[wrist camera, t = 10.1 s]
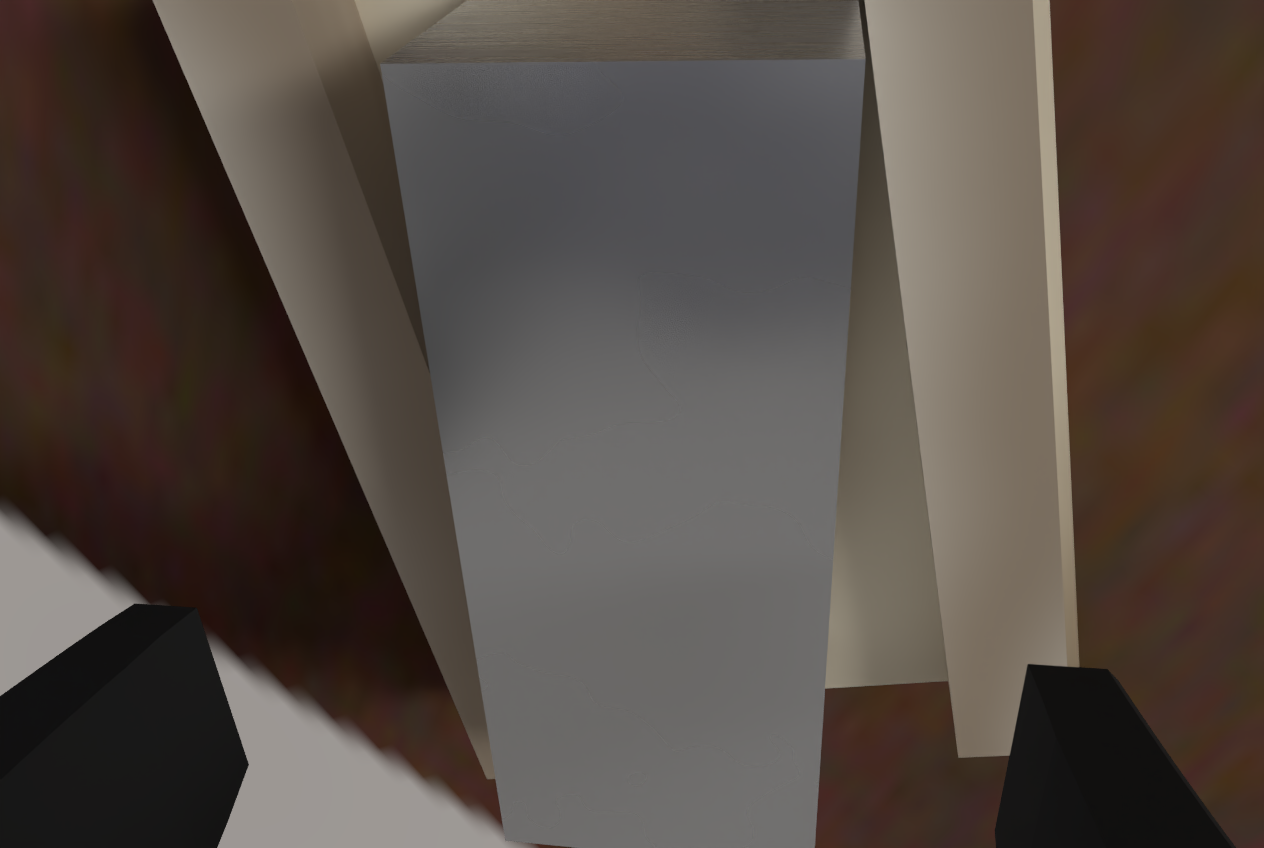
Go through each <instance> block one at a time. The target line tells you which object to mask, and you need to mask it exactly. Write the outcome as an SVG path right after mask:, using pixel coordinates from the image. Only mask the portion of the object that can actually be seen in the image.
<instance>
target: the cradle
mask: <svg viewBox="0 0 1264 848" xmlns="http://www.w3.org/2000/svg"><path fill="white" fill-rule="evenodd" d="M465 1H467V0H153V2H154V5H155V7H156V9H157V12H158V14H159V16H160V19H161V21H162V23H163V26H164V28H165V30H166V33H167V35H168V37H169V40H170V42H171V44H172V47H173V49H174V51H175V54H176V56H177V58H178V61H179V63H180V65H181V68H182V70H183V72H184V75H185V77H186V79H187V82H188V84H189V86H190V89H191V91H192V93H193V96H194V98H195V100H196V103H197V105H198V107H199V110H200V112H201V114H202V117H203V119H204V121H205V124H206V126H207V128H208V130H209V133H210V135H211V137H212V140H213V142H214V144H215V147H216V149H217V151H218V154H219V156H220V158H221V161H222V163H223V165H224V168H225V170H226V172H227V175H228V177H229V179H230V182H231V184H232V186H233V189H234V191H235V193H236V196H237V198H238V200H239V203H240V205H241V207H242V210H243V212H244V214H245V217H246V219H247V221H248V224H249V226H250V228H251V231H252V233H253V235H254V238H255V240H256V242H257V245H258V247H259V249H260V252H261V254H262V256H263V259H264V261H265V263H266V266H267V268H268V270H269V273H270V275H271V277H272V279H273V282H274V284H275V286H276V289H277V291H278V293H279V296H280V298H281V300H282V303H283V305H284V307H285V310H286V312H287V314H288V317H289V319H290V321H291V324H292V326H293V328H294V331H295V333H296V335H297V338H298V340H299V342H300V345H301V347H302V349H303V352H304V354H305V356H306V359H307V361H308V363H309V366H310V368H311V370H312V373H313V375H314V377H315V380H316V382H317V384H318V387H319V389H320V391H321V394H322V396H323V398H324V401H325V403H326V405H327V408H328V410H329V412H330V415H331V417H332V419H333V422H334V424H335V426H336V428H337V431H338V433H339V435H340V438H341V440H342V442H343V445H344V447H345V449H346V452H347V454H348V456H349V459H350V461H351V463H352V466H353V468H354V470H355V473H356V475H357V477H358V480H359V482H360V484H361V487H362V489H363V491H364V494H365V496H366V498H367V501H368V503H369V505H370V508H371V510H372V512H373V515H374V517H375V519H376V522H377V524H378V526H379V529H380V531H381V533H382V536H383V538H384V540H385V543H386V545H387V547H388V550H389V552H390V554H391V557H392V559H393V561H394V564H395V566H396V568H397V571H398V573H399V575H400V577H401V580H402V582H403V584H404V587H405V589H406V591H407V594H408V596H409V598H410V601H411V603H412V605H413V608H414V610H415V612H416V615H417V617H418V619H419V622H420V624H421V626H422V629H423V631H424V633H425V636H426V638H427V640H428V643H429V645H430V647H431V650H432V652H433V654H434V657H435V659H436V661H437V664H438V666H439V668H440V671H441V673H442V675H443V678H444V680H445V682H446V685H447V687H448V689H449V692H450V694H451V696H452V699H453V701H454V703H455V706H456V708H457V710H458V713H459V715H460V717H461V720H462V722H463V724H464V726H465V729H466V731H467V733H468V736H469V738H470V740H471V743H472V745H473V747H474V750H475V752H476V754H477V757H478V759H479V761H480V764H481V766H482V768H483V771H484V773H485V775H486V778H487V779H495V773H494V766H493V760H492V754H491V748H490V742H489V735H488V729H487V723H486V717H485V711H484V704H483V698H482V692H481V686H480V680H479V673H478V667H477V661H476V655H475V649H474V642H473V636H472V630H471V624H470V618H469V611H468V605H467V599H466V593H465V587H464V580H463V574H462V568H461V562H460V556H459V549H458V543H457V537H456V531H455V525H454V518H453V512H452V506H451V500H450V494H449V487H448V481H447V475H446V469H445V463H444V457H443V450H442V444H441V438H440V432H439V426H438V419H437V413H436V407H435V401H434V395H433V388H432V382H431V376H430V370H429V364H428V357H427V351H426V345H425V339H424V333H423V326H422V320H421V314H420V308H419V302H418V295H417V289H416V283H415V277H414V271H413V264H412V258H411V252H410V246H409V240H408V233H407V227H406V221H405V215H404V209H403V202H402V196H401V190H400V184H399V178H398V171H397V165H396V159H395V153H394V147H393V141H392V134H391V128H390V122H389V116H388V110H387V103H386V97H385V91H384V85H383V79H382V72H381V66H380V64H381V63H382V62H383V61H385V60H386V59H387V58H389V57H390V56H391V55H393V54H394V53H396V52H397V51H398V50H400V49H401V48H402V47H404V46H405V45H407V44H408V43H409V42H411V41H412V40H413V39H415V38H416V37H417V36H419V35H420V34H422V33H423V32H424V31H426V30H427V29H428V28H430V27H431V26H433V25H434V24H435V23H437V22H438V21H439V20H441V19H442V18H443V17H445V16H446V15H448V14H449V13H450V12H452V11H453V10H454V9H456V8H457V7H459V6H460V5H461V4H463V3H464V2H465ZM858 2H859V10H860V18H861V26H862V34H863V42H864V50H865V58H866V61H865V77H864V92H863V108H862V123H861V139H860V154H859V170H858V185H857V201H856V216H855V232H854V247H853V262H852V278H851V293H850V309H849V324H848V340H847V355H846V371H845V386H844V402H843V417H842V433H841V448H840V464H839V479H838V494H837V510H836V525H835V541H834V556H833V572H832V587H831V603H830V618H829V634H828V649H827V665H826V680H825V688H841V687H857V686H873V685H889V684H905V683H921V682H937V681H949V689H950V696H951V704H952V712H953V719H954V727H955V735H956V742H957V750H958V758H963V757H985V756H1006V755H1010V751H1011V746H1012V741H1013V736H1014V731H1015V726H1016V721H1017V716H1018V711H1019V705H1020V700H1021V695H1022V690H1023V685H1024V680H1025V675H1026V670H1027V665H1028V664H1037V665H1052V666H1067V667H1079V650H1078V627H1077V605H1076V583H1075V560H1074V538H1073V516H1072V493H1071V471H1070V449H1069V426H1068V404H1067V382H1066V359H1065V337H1064V314H1063V292H1062V270H1061V247H1060V225H1059V203H1058V180H1057V158H1056V136H1055V113H1054V91H1053V69H1052V46H1051V24H1050V2H1049V0H858Z"/></svg>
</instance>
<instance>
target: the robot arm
mask: <svg viewBox="0 0 1264 848" xmlns="http://www.w3.org/2000/svg"><path fill="white" fill-rule="evenodd" d="M248 765H249V764H248V761H247V758H246V755H245V752H244V749H243V746H242V743H241V740H240V737H239V734H238V731H237V728H236V725H235V722H234V719H233V716H232V713H231V710H230V707H229V704H228V701H227V698H226V695H225V692H224V689H223V686H222V683H221V680H220V677H219V673H218V670H217V667H216V664H215V661H214V658H213V655H212V652H211V649H210V646H209V643H208V640H207V637H206V634H205V631H204V628H203V625H202V622H201V619H200V616H199V613H198V610H197V608H192V607H177V606H162V605H147V604H134V605H132V606H130V607H129V608H127V609H126V610H124V611H123V612H121V613H119V614H118V615H116V616H115V617H113V618H112V619H110V620H108V621H107V622H105V623H104V624H102V625H101V626H99V627H98V628H97V629H95V630H94V631H92V632H91V633H89V634H88V635H86V636H85V637H83V638H82V639H81V640H79V641H78V642H76V643H75V644H73V645H72V646H70V647H69V648H68V649H66V650H65V651H63V652H62V653H60V654H59V655H58V656H56V657H55V658H54V659H52V660H50V661H49V662H48V663H46V664H45V665H43V666H42V667H41V668H39V669H38V670H36V671H35V672H34V673H32V674H31V675H29V676H28V677H27V678H25V679H24V680H22V681H21V682H20V683H18V684H17V685H15V686H14V687H13V688H11V689H10V690H8V691H7V692H5V693H4V694H3V695H1V696H0V848H217V847H218V844H219V842H220V839H221V837H222V834H223V832H224V829H225V827H226V825H227V822H228V819H229V817H230V814H231V811H232V808H233V806H234V803H235V800H236V798H237V795H238V792H239V789H240V787H241V784H242V781H243V778H244V776H245V773H246V770H247V768H248ZM995 839H996V848H1236V847H1235V846H1234V844H1233V843H1232V842H1231V840H1230V839H1229V838H1228V836H1227V835H1226V834H1225V832H1224V831H1223V830H1222V828H1221V827H1220V826H1219V824H1218V823H1217V822H1216V820H1215V819H1214V817H1213V816H1212V815H1211V813H1210V812H1209V810H1208V809H1207V808H1206V806H1205V805H1204V804H1203V802H1202V801H1201V799H1200V798H1199V797H1198V795H1197V794H1196V792H1195V791H1194V790H1193V788H1192V787H1191V785H1190V784H1189V783H1188V781H1187V780H1186V779H1185V777H1184V776H1183V774H1182V773H1181V771H1180V770H1179V769H1178V767H1177V766H1176V764H1175V763H1174V761H1173V760H1172V759H1171V757H1170V756H1169V754H1168V753H1167V751H1166V750H1165V749H1164V747H1163V746H1162V744H1161V743H1160V741H1159V740H1158V738H1157V737H1156V736H1155V734H1154V733H1153V731H1152V730H1151V728H1150V727H1149V725H1148V724H1147V722H1146V721H1145V719H1144V718H1143V716H1142V715H1141V714H1140V712H1139V711H1138V709H1137V708H1136V706H1135V705H1134V703H1133V702H1132V700H1131V699H1130V697H1129V696H1128V694H1127V693H1126V691H1125V690H1124V688H1123V687H1122V685H1121V684H1120V682H1119V681H1118V680H1117V679H1116V678H1115V677H1114V676H1113V675H1112V674H1111V673H1110V671H1109V670H1108V669H1096V668H1081V667H1067V666H1052V665H1037V664H1028V665H1027V670H1026V675H1025V680H1024V685H1023V690H1022V695H1021V700H1020V705H1019V711H1018V716H1017V721H1016V726H1015V731H1014V736H1013V741H1012V746H1011V751H1010V756H1009V761H1008V767H1007V772H1006V777H1005V782H1004V787H1003V792H1002V797H1001V802H1000V807H999V812H998V817H997V823H996V828H995Z"/></svg>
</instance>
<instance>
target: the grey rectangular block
mask: <svg viewBox="0 0 1264 848" xmlns="http://www.w3.org/2000/svg"><path fill="white" fill-rule="evenodd" d="M865 61H866V58H865V50H864V42H863V34H862V26H861V18H860V10H859V2H858V0H467V1H465V2H464V3H463V4H461V5H460V6H459V7H457V8H456V9H454V10H453V11H452V12H450V13H449V14H448V15H446V16H445V17H443V18H442V19H441V20H439V21H438V22H437V23H435V24H434V25H433V26H431V27H430V28H428V29H427V30H426V31H424V32H423V33H422V34H420V35H419V36H417V37H416V38H415V39H413V40H412V41H411V42H409V43H408V44H407V45H405V46H404V47H402V48H401V49H400V50H398V51H397V52H396V53H394V54H393V55H391V56H390V57H389V58H387V59H386V60H385V61H383V62H382V63H381V64H380V66H381V72H382V79H383V85H384V91H385V97H386V103H387V110H388V116H389V122H390V128H391V134H392V141H393V147H394V153H395V159H396V165H397V171H398V178H399V184H400V190H401V196H402V202H403V209H404V215H405V221H406V227H407V233H408V240H409V246H410V252H411V258H412V264H413V271H414V277H415V283H416V289H417V295H418V302H419V308H420V314H421V320H422V326H423V333H424V339H425V345H426V351H427V357H428V364H429V370H430V376H431V382H432V388H433V395H434V401H435V407H436V413H437V419H438V426H439V432H440V438H441V444H442V450H443V457H444V463H445V469H446V475H447V481H448V487H449V494H450V500H451V506H452V512H453V518H454V525H455V531H456V537H457V543H458V549H459V556H460V562H461V568H462V574H463V580H464V587H465V593H466V599H467V605H468V611H469V618H470V624H471V630H472V636H473V642H474V649H475V655H476V661H477V667H478V673H479V680H480V686H481V692H482V698H483V704H484V711H485V717H486V723H487V729H488V735H489V742H490V748H491V754H492V760H493V766H494V773H495V779H496V785H497V791H498V797H499V804H500V810H501V816H502V822H503V828H504V834H505V841H515V842H525V843H536V844H546V845H556V846H566V847H576V848H815V835H816V819H817V804H818V788H819V773H820V757H821V742H822V726H823V711H824V696H825V680H826V665H827V649H828V634H829V618H830V603H831V587H832V572H833V556H834V541H835V525H836V510H837V494H838V479H839V464H840V448H841V433H842V417H843V402H844V386H845V371H846V355H847V340H848V324H849V309H850V293H851V278H852V262H853V247H854V232H855V216H856V201H857V185H858V170H859V154H860V139H861V123H862V108H863V92H864V77H865Z"/></svg>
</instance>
